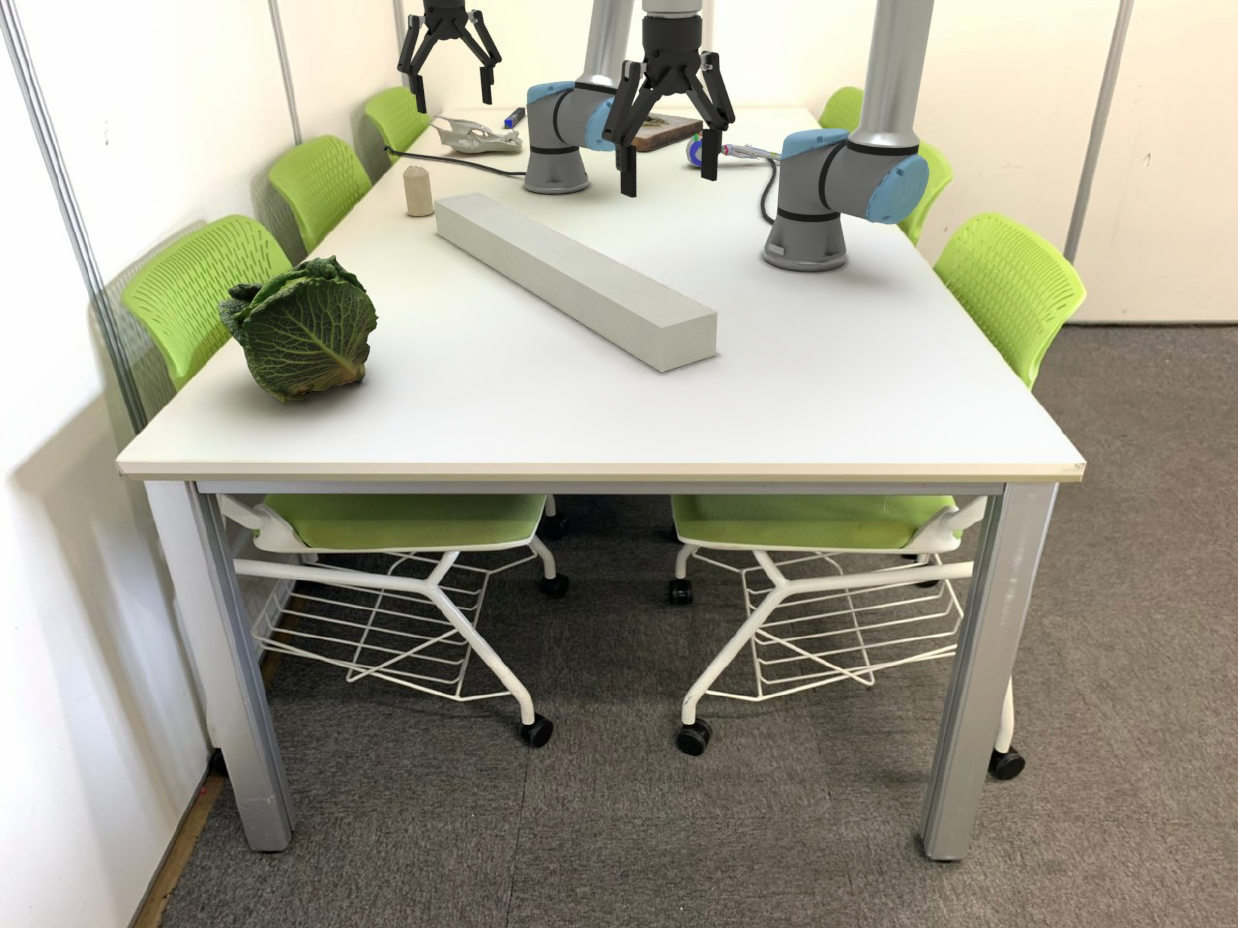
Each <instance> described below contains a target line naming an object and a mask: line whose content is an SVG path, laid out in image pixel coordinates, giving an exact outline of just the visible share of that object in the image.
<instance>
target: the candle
mask: <svg viewBox="0 0 1238 928" xmlns="http://www.w3.org/2000/svg"><path fill="white" fill-rule="evenodd" d="M402 179H403V186H404V194H405V200H406V207H407V213H408V215H410V216H413V217H425V216H430V215H432V214H433V213H434V202H433V197H432V188H431V179H430V173H429V171H428V170H427V169H425V167H423V166H417V165H409V166H407V167H406V169H405V170H404V171H403V173H402Z"/></svg>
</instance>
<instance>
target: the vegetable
mask: <svg viewBox="0 0 1238 928" xmlns="http://www.w3.org/2000/svg"><path fill="white" fill-rule="evenodd" d="M227 294H228V295H230V296H231V298H228V299H223V300H220V301H219V302H218V303H217V306H216V307H217V308H219V311H218V312H217V314H218V316H219V318H220V321H221V323H223V324H224V326H225V328H226V329H227V330H228V332H229V334H230V335H231V336H232V338H233V339H234V340H235V341H237V343H238V344H239V346H240V347H242V349H243V354H244V358H245V360H246V365H247V368H248V371H249V372H250V374H251V376H252V378H253V380H254V382H255V383H256V384H257V385H258V386H259V387H260V388H261V389H262V390H264V391H265V392H267V394H270V395H271V396H272V397H274V398H275V399H276V400H277V401H279V402H280V403H282V404H283V405H288V404H290V402H291V401H296V400H298V401H299V400H303V401H304V400H306V397H305V396H304V395H305V394H306V393H309V392H313V391H314V392H315V391H316V392H325V391H326V390H327V389H328V390H329V389H330V388H331V387H337V386H338V387H339V386H342V385H346V384H349V383H350V385H353V384H362V383H363V380H364V378H365V376H366V366H365V363H366V362H367V361H368V358H369V355H370V353H371V345H370V344H368V340H369V336H370V334H371V333H372V332H373V331H375V330H376V329H377V326H378V321H377V320H378V319H380V316H378V315H377V314H376V312H377V309H376V308H375V305H374V303H373V300H372V299H371V298H370V295H369V294H367V290H366V289H365V287H364V285H363V284H362V283H361V282H360V281H359V280H358V277H357V275H356V274H355V273H352V272H349V271H347V270H346V269H345V268H344V267H343V266H342V265H341V264H340V263H339V262H338V260H337V254H336V255H335V254H332V255H331V256H329V257H327V258H320V256H318V257H315V258H313V259H311V260H306V261H304V262H302V263H299V264H297V265H296V266H293V267H292V268H290V269H289V270H288V271H287V272H283V273H282V272H281V273H277V274H274V275H272V276H270V277H269V278H268V279H267V280H266V281H265V283H257V282H251V283H249V282H240V283H237V284H236V285H234V286H232V287H229V288H228V290H227Z"/></svg>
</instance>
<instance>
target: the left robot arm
mask: <svg viewBox="0 0 1238 928" xmlns="http://www.w3.org/2000/svg"><path fill="white" fill-rule="evenodd" d="M422 5H423V15H416V14H411V13H410V14H408V15H407V31H406V34H405V38H404V41H403V44H402V48H401V51H400V55H399V58H398V62H397V66H396V70H397V71H398V72H399V73H403V74H406V75H407V77H408V84H409V91H410V93H411V94H412V95H414V96H415V102H416V110H417V111H416V112H417V113H420V114H423V115H427V113H428V110H427V102H426V95H425V86H424V78H423V75H422V74H421V75H420V74H419V73H420V71H421V69H422V68H423V66H424V65H425V63H426V60H428V57H429V55H430V53H431V52H432V50H433V48H434V46H435V45H436V44H437V43H438V41H442V42H444V41H448V40H462V42H463V43H464V44H465V45H466V47H467V48H468V49H469V50H470V52H471V53H473V54H474V56H475V57H476V58H477V59H478V61H479V62H480V63H481V64H482V65H483V66H479V77H480V78H479V79H480V89H481V90H480V91H481V99H482V100H481V101H482V104H484V105H486V106H492V105H493V95H492V94H493V93H492V86H494V85H495V72H494V68H496V66H497V64H500V63H502V62H503V58H502V55H501V53H500V52H499V49H498V48H497V45H496V44H495V41H494V39H493V38H492V35H491V34H490V31H489V29H488V27H487V26H486V24H485V19H484V13H483V11H482V10H480V9H473V8H472V9H471V11H467V10H466V0H422ZM634 7H635V0H593V3H592V9H591V16H590V23H589V31H588V38H587V45H586V51H585V58H584V65H583V72H582V74H581V75H580V76H578V77H577V78H576V79H575V80H563V81H561V80H560V81H553V82H546V83H539V84H535V85H532V86H530V87H529V88H528V89H527V91H526V105H525V108H526V115H527V128H528V129H527V130H528V140H529V141H528V142H529V157H528V162H527V168H526V171H505V170H502V169H498V168H495V167H492V166H487V165H485V164H480V163H476V162H472V161H468V160H462V159H457V158H456V159H455V158H451V157H443V156H436V155H429V154H420V153H419V154H418V153H414V152H413V153H412V152H406V151H405V152H404V151H399V150H395V149H394V148H392V147H391V146H390V145H385V146H384V148H383V151H384V152H386V151H389V152H391V153H392V154H394V155H399V156H407V157H412V158H420V159H429V160H436V161H444V162H450V163H457V164H463V165H467V166H473V167H476V168H479V169H484V170H487V171H491V172H494V173H497V174H501V175H506V176H524V180H523V183H524V188H525V189H526V190H527V191H530V192H531V193H535V194H536V193H537V194H543V195H544V194H545V195H562V194H570V193H576V192H579V191H583V190H584V189H586V188H587V187H589V175H588V173H587V171H586V168H585V164H584V161H583V158H582V156H581V153H580V148H582V149H587V150H591V151H593V152H604V153H605V152H607V153H608V152H609V153H611V152H614V151H615V145H614V143H611V142H608V141H605V140H603V139H602V137H601V135H602V131H603V129H604V126H605V123H606V120H607V117H608V114H609V112H610V109H611V106H612V103H613V100H614V98H615V95H616V92H617V89H618V86H619V84H620V81H621V72H622V63H623V61H624V60H626V57H627V51H628V46H629V45H628V44H629V38H630V37H629V36H630V33H631V32H630V31H631V26H632V20H633V14H634ZM468 22H470V24H472V25H473V27H474V30H475V31H476V33H477V35H478V37H479V39H480V41H481V43H482V45H483V47H484V49H485V50H484V49H483V48H482V46H481V45H480V44H479V43H478V42H477V40H475V38H474V37H473V34H472V33H471V32H470V31H469V30H468V29H467V28H466V26H467V24H468ZM423 25H425V27H426V28H427V31H426V32H425V34H424V35H423V40H422V41H421V43H420V45H419V46H418V48H417V50H416V52H415V49H416V46H417V42H418V40H419V39H418V38H419V35H420V29H422V27H423ZM414 53H415V54H414Z"/></svg>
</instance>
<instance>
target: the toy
mask: <svg viewBox="0 0 1238 928" xmlns="http://www.w3.org/2000/svg"><path fill="white" fill-rule="evenodd" d="M685 154H686V159H687V161H688V163H690V164H691V165H692V166H695V167H698V168H701V155H702V133H696V134H694V135H692V136H691V137H690V139H689V141H688V142H687V145H686V148H685ZM720 154H722V155H724V156H725V157H730V156H731V157H734V158H736V159H737V158H738V159H751V160H755V159H756V160H760V159H762V158H763V159H767V158H770V159H773V161H776V162H779V163H780V157H781V154H782V153H778V152H775V151H774V152H773V151H768V150H766V149H763V148H757V147H754V146H752V145H749V143H746V144H745V145H737V144H732V143H726V144H722V150H721V153H720ZM720 154H718V156H719V155H720Z"/></svg>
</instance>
